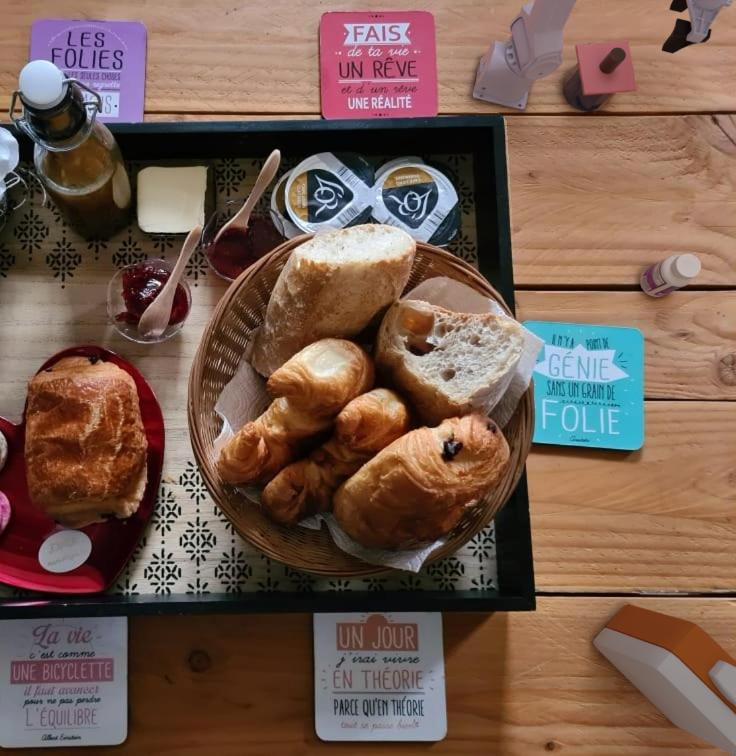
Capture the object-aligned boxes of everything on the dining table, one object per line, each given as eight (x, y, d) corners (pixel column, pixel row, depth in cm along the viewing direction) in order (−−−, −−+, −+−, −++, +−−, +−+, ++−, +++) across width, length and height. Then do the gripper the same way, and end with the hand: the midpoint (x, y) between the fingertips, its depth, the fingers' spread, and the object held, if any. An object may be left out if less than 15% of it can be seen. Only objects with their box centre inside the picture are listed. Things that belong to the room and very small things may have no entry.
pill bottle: (673, 275, 126) (710, 257, 116) (663, 302, 125) (699, 287, 115) (644, 262, 126) (679, 243, 117) (633, 289, 125) (667, 273, 116)
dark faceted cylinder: (558, 105, 130) (575, 85, 124) (567, 63, 131) (585, 41, 125) (604, 116, 130) (624, 97, 124) (613, 74, 131) (633, 53, 125)
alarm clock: (711, 685, 116) (815, 727, 95) (675, 727, 115) (773, 778, 94) (622, 600, 118) (706, 623, 97) (587, 640, 117) (664, 672, 96)
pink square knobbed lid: (583, 95, 124) (595, 81, 119) (574, 46, 125) (586, 31, 121) (635, 91, 124) (649, 77, 120) (626, 42, 125) (640, 27, 121)
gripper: (746, 22, 107) (688, 74, 120) (761, -64, 109) (702, -3, 122) (699, 10, 107) (646, 64, 120) (715, -75, 109) (661, -13, 122)
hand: (671, 29), depth 121 cm, fingers open, 7 cm apart
